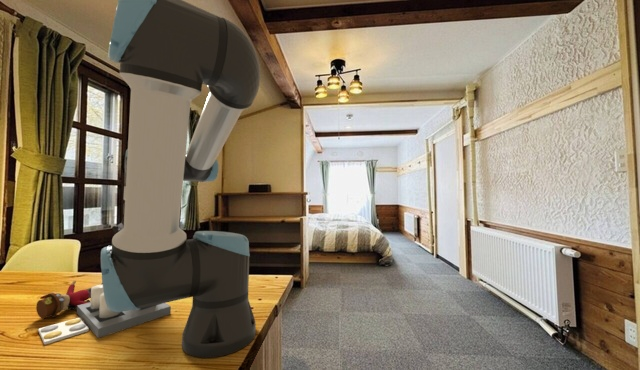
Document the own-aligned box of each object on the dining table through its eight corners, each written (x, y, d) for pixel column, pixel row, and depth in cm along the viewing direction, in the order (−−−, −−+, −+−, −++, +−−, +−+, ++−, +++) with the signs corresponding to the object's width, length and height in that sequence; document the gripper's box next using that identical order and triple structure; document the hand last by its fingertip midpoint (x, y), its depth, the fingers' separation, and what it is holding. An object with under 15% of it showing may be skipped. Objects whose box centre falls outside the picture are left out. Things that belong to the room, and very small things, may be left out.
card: (88, 331, 60) (88, 327, 60) (44, 344, 54) (44, 341, 54) (79, 319, 65) (79, 316, 65) (38, 331, 60) (38, 327, 60)
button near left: (122, 313, 64) (123, 292, 64) (101, 319, 61) (102, 297, 61) (117, 309, 66) (118, 289, 66) (97, 314, 63) (98, 293, 63)
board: (170, 313, 69) (170, 306, 69) (98, 338, 57) (98, 328, 57) (141, 296, 81) (141, 289, 81) (76, 313, 69) (77, 305, 69)
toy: (121, 290, 77) (57, 314, 63) (112, 307, 78) (48, 335, 64) (98, 266, 80) (32, 285, 65) (90, 284, 81) (23, 305, 66)
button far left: (112, 305, 69) (113, 286, 69) (92, 310, 65) (93, 290, 66) (107, 301, 71) (108, 282, 71) (88, 306, 68) (89, 286, 68)
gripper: (168, 201, 80) (166, 278, 79) (123, 201, 79) (119, 280, 77) (157, 201, 73) (154, 286, 72) (106, 201, 71) (102, 289, 70)
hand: (136, 283), depth 74 cm, fingers closed
